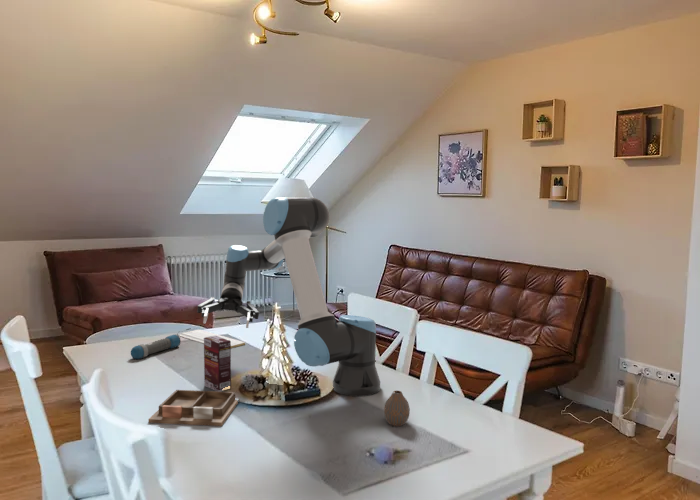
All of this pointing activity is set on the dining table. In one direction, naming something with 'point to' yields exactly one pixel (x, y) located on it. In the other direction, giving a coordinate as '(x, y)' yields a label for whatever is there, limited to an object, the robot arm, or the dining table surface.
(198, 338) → the baseboard molding
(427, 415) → the dining table surface
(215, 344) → the supplement box
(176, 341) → the grey and blue cylinder
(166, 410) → the organiser board
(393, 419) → the vase
